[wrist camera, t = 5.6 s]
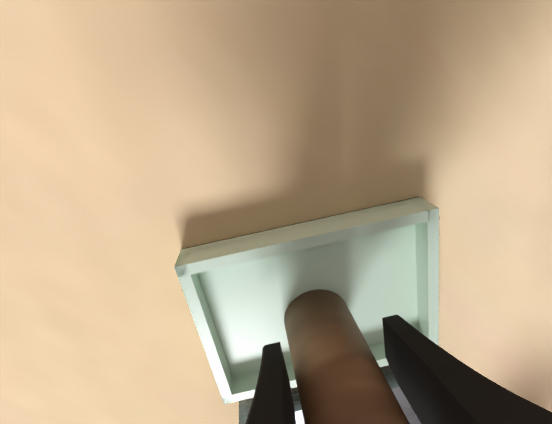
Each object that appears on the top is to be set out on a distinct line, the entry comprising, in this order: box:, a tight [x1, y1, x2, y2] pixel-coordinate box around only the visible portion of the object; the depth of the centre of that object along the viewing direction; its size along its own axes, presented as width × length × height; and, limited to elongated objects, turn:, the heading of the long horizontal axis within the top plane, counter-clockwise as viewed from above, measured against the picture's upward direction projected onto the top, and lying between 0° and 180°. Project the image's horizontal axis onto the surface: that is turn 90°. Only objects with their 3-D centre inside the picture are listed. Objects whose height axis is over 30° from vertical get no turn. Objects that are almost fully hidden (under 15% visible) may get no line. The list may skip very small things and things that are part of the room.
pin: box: [284, 289, 410, 424], centre depth 11 cm, size 4×4×9 cm
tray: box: [175, 197, 439, 404], centre depth 15 cm, size 11×8×2 cm
